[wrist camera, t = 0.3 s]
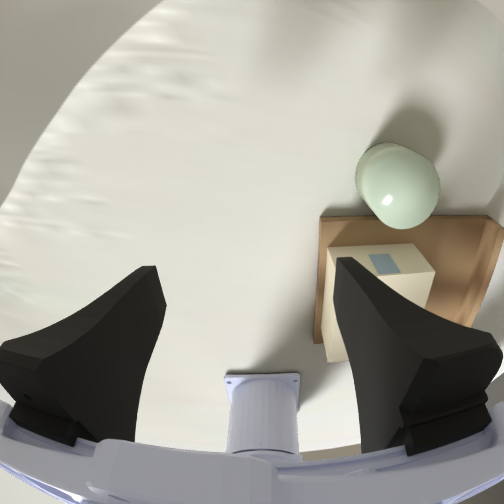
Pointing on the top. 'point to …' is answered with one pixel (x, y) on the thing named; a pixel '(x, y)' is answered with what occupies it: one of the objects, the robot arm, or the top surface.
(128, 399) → the robot arm
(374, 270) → the carton
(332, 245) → the board
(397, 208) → the mint green dome
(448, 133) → the top surface
